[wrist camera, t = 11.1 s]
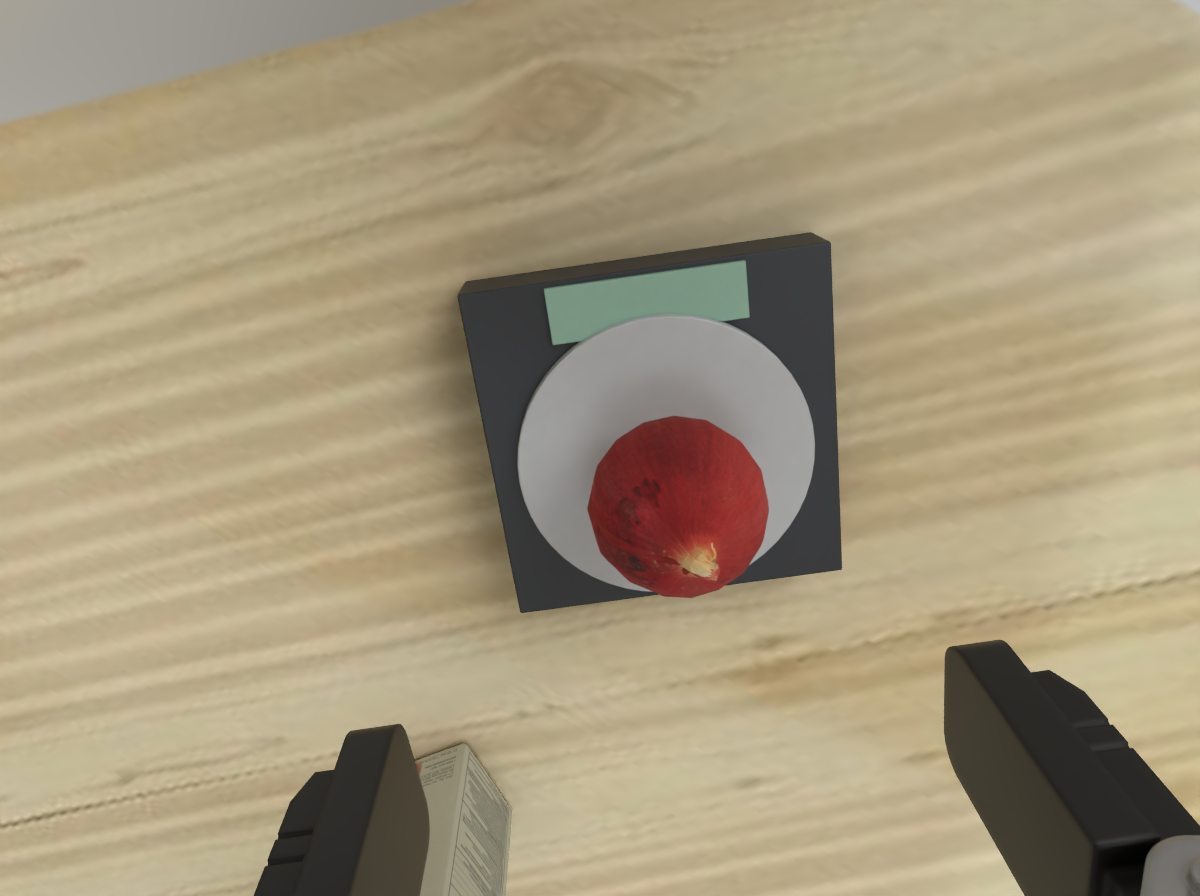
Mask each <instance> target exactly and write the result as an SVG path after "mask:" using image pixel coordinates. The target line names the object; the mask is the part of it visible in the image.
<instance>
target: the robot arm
mask: <svg viewBox="0 0 1200 896" xmlns="http://www.w3.org/2000/svg"><path fill="white" fill-rule="evenodd" d="M944 735H945V742H946V747H947V751H948V755H949V758H950V761H951V764H952V766H953V769H954V771H955V773H956V775H957V777H958V779H959V781H960V782H961V784H962V786H963V788H964V789H965V791H966V793H967V795H968V796H969V798H970V800H971V802H972V803H973V805H974V807H975V809H976V811H977V812H978V814H979V816H980V818H981V819H982V821H983V823H984V825H985V826H986V828H987V830H988V832H989V833H990V835H991V837H992V839H993V840H994V842H995V844H996V846H997V848H998V849H999V851H1000V853H1001V855H1002V856H1003V858H1004V860H1005V862H1006V863H1007V865H1008V867H1009V869H1010V870H1011V872H1012V874H1013V876H1014V877H1015V879H1016V881H1017V883H1018V885H1019V886H1020V888H1021V890H1022V892H1023V893H1024V895H1025V896H1200V826H1199V824H1198V823H1197V822H1196V821H1195V820H1194V819H1193V817H1192V816H1191V815H1190V814H1189V813H1188V812H1187V810H1186V809H1185V808H1184V807H1183V806H1182V805H1181V804H1180V802H1179V801H1178V800H1177V799H1176V798H1175V797H1174V795H1173V794H1172V793H1171V792H1170V791H1169V790H1168V788H1167V787H1166V786H1165V785H1164V784H1163V783H1162V781H1161V780H1160V779H1159V778H1158V777H1157V776H1156V774H1155V773H1154V772H1153V771H1152V770H1151V769H1150V767H1149V766H1148V765H1147V764H1146V763H1145V762H1144V760H1143V759H1142V758H1141V757H1140V756H1139V755H1138V753H1137V752H1136V751H1135V750H1134V749H1133V748H1129V746H1128V742H1127V741H1126V740H1125V738H1124V737H1123V736H1122V735H1121V734H1120V733H1119V731H1118V730H1117V729H1116V728H1115V727H1114V726H1113V725H1110V724H1109V722H1108V719H1107V717H1106V716H1105V715H1104V714H1103V713H1102V712H1101V710H1100V709H1099V708H1098V707H1097V706H1096V705H1095V703H1094V702H1093V701H1092V700H1091V699H1090V698H1089V696H1088V695H1087V694H1086V693H1085V692H1084V691H1082V690H1081V689H1079V688H1078V687H1076V686H1074V685H1073V684H1071V683H1070V682H1068V681H1066V680H1065V679H1063V678H1061V677H1060V676H1058V675H1057V674H1055V673H1053V672H1052V671H1050V670H1046V671H1039V672H1032V673H1031V672H1030V671H1029V670H1028V669H1027V667H1026V666H1025V665H1024V664H1023V662H1022V661H1021V660H1020V658H1019V657H1018V656H1017V655H1016V653H1015V652H1014V651H1013V650H1012V648H1011V647H1010V646H1009V645H1008V644H1007V643H1006V642H1005V641H1003V640H994V641H987V642H980V643H973V644H966V645H959V646H952V647H949V648H948V649H947V651H946V654H945V686H944ZM429 838H430V822H429V812H428V805H427V801H426V797H425V794H424V790H423V787H422V784H421V780H420V777H419V774H418V770H417V767H416V764H415V760H414V757H413V754H412V750H411V747H410V744H409V740H408V737H407V734H406V731H405V729H404V728H403V726H402V725H401V724H395V725H388V726H381V727H374V728H367V729H360V730H353V731H350V732H349V733H348V734H347V735H346V737H345V740H344V743H343V746H342V749H341V751H340V754H339V757H338V760H337V763H336V766H335V769H334V770H329V771H322V772H315V773H314V774H313V775H312V777H311V778H310V779H309V780H308V781H307V783H306V784H305V785H304V786H303V787H302V789H301V790H300V791H299V792H298V793H297V795H296V796H295V797H294V798H293V799H292V800H291V802H290V804H289V807H288V809H287V812H286V814H285V817H284V819H283V822H282V824H281V827H280V830H279V832H278V840H275V842H274V845H273V848H272V850H271V853H270V855H269V858H268V866H266V867H265V868H264V871H263V873H262V876H261V878H260V881H259V883H258V886H257V889H256V891H255V894H254V896H420V891H421V886H422V880H423V875H424V869H425V864H426V859H427V853H428V847H429Z"/></svg>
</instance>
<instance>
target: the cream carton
mask: <svg viewBox="0 0 1200 896" xmlns="http://www.w3.org/2000/svg"><path fill="white" fill-rule="evenodd" d="M415 764H416V767H417V770H418V774H419V777H420V780H421V784H422V787H423V790H424V794H425V797H426V801H427V805H428V812H429V822H430V838H429V847H428V853H427V859H426V864H425V869H424V875H423V880H422V886H421V891H420V896H505V895H506V882H507V869H508V857H509V844H510V830H511V817H512V812H511V809H510V808H509V806H508V805H507V803H506V802H505V800H504V799H503V797H502V795H501V794H500V792H499V790H498V789H497V788H496V786H495V785H494V783H493V782H492V780H491V779H490V777H489V776H488V774H487V773H486V771H485V770H484V768H483V767H482V765H481V764H480V762H479V761H478V760H477V758H476V757H475V756H474V754H473V753H472V751H471V750H470V749H469V747H468V746H467V745H466V744H465V743H463V744H460V745H457V746H454V747H452V748H449V749H446V750H443V751H440V752H437V753H435V754H432V755H429V756H426V757H424V758H421V759H419V760H416V761H415Z"/></svg>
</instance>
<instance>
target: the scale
mask: <svg viewBox="0 0 1200 896" xmlns="http://www.w3.org/2000/svg"><path fill="white" fill-rule="evenodd" d="M458 301H459V306H460V311H461V316H462V321H463V326H464V331H465V336H466V341H467V346H468V351H469V356H470V361H471V366H472V371H473V376H474V381H475V386H476V391H477V396H478V402H479V407H480V412H481V417H482V422H483V427H484V432H485V437H486V442H487V447H488V452H489V457H490V462H491V467H492V472H493V477H494V482H495V487H496V492H497V497H498V502H499V507H500V512H501V517H502V522H503V527H504V532H505V537H506V543H507V548H508V553H509V558H510V563H511V568H512V573H513V578H514V583H515V588H516V593H517V598H518V603H519V608H520V612H521V613H525V612H533V611H540V610H547V609H555V608H562V607H570V606H577V605H584V604H592V603H599V602H607V601H614V600H621V599H629V598H636V597H643V596H651V595H658V594H657V593H655V592H652V591H650V590H648V589H645V588H643V587H640V586H638V585H635V584H633V583H631V582H629V581H628V580H627V579H626V578H625V577H624V576H623V575H622V574H621V573H620V572H619V571H618V570H617V569H616V568H615V567H614V566H613V565H611V564H610V563H609V562H608V561H607V560H606V559H605V557H604V556H603V555H602V554H601V553H600V550H599V547H598V544H597V541H596V538H595V535H594V531H593V528H592V524H591V521H590V517H589V514H588V510H587V507H588V503H589V498H590V494H591V489H592V485H593V480H594V476H595V472H596V468H597V465H598V464H599V462H600V461H601V460H602V458H603V457H604V456H605V454H606V453H607V452H608V450H609V449H610V448H611V446H612V445H613V444H614V442H615V441H616V440H617V439H618V438H620V437H621V436H623V435H624V434H626V433H628V432H629V431H631V430H632V429H634V428H635V427H637V426H639V425H640V424H642V423H644V422H648V421H652V420H657V419H661V418H665V417H670V416H680V417H688V418H695V419H703V420H707V421H709V422H711V423H712V424H714V425H716V426H717V427H719V428H721V429H722V430H724V431H725V432H727V433H729V434H730V435H732V436H734V437H735V438H737V439H738V440H739V441H741V442H742V443H743V445H744V446H745V447H746V449H747V450H748V452H749V453H750V455H751V456H752V457H753V459H754V460H755V462H756V463H757V464H758V466H759V467H760V469H761V471H762V475H763V480H764V485H765V489H766V494H767V498H768V505H769V514H768V519H767V524H766V530H765V535H764V540H763V542H762V545H761V547H760V549H759V550H758V552H757V553H756V555H755V556H754V558H753V560H752V561H751V563H750V564H749V566H748V567H747V569H746V571H745V572H744V573H743V574H742V575H740V576H739V577H737V578H736V579H734V580H733V581H731V582H729V583H728V584H726V585H732V584H739V583H747V582H754V581H762V580H769V579H776V578H784V577H791V576H798V575H806V574H813V573H821V572H828V571H835V570H841V569H842V556H841V527H840V498H839V469H838V440H837V411H836V382H835V353H834V324H833V296H832V267H831V243H830V242H829V241H827V240H825V239H823V238H821V237H819V236H817V235H815V234H813V233H811V232H810V233H803V234H796V235H789V236H782V237H775V238H768V239H761V240H754V241H747V242H740V243H733V244H726V245H719V246H712V247H705V248H698V249H691V250H684V251H677V252H670V253H663V254H656V255H649V256H642V257H635V258H628V259H621V260H614V261H607V262H600V263H593V264H586V265H579V266H572V267H565V268H558V269H551V270H544V271H537V272H530V273H523V274H516V275H509V276H502V277H495V278H488V279H481V280H474V281H467V282H465V284H464V286H463V287H462V289H461V291H460V292H459V294H458Z"/></svg>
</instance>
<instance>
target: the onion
mask: <svg viewBox="0 0 1200 896" xmlns="http://www.w3.org/2000/svg"><path fill="white" fill-rule="evenodd" d="M587 510H588V514H589V517H590V521H591V524H592V528H593V531H594V535H595V538H596V541H597V544H598V547H599V550H600V553H601V554H602V555H603V556H604V557H605V559H606V560H607V561H608V562H609V563H610V564H611V565H613V566H614V567H615V568H616V569H617V570H618V571H619V572H620V573H621V574H622V575H623V576H624V577H625V578H626V579H627V580H628V581H629V582H631V583H633V584H635V585H638V586H640V587H643V588H645V589H648V590H650V591H652V592H655V593H657V594H660V595H662V596H667V597H685V598H692V597H696V596H699V595H703V594H706V593H709V592H713V591H716V590H719V589H720V588H722V587H723V586H725V585H726V584H728V583H729V582H731V581H733V580H734V579H736V578H737V577H739V576H740V575H742V574H743V573H744V572H745V571H746V569H747V567H748V566H749V564H750V563H751V561H752V560H753V558H754V556H755V555H756V553H757V552H758V550H759V549H760V547H761V545H762V542H763V540H764V535H765V530H766V524H767V519H768V514H769V505H768V498H767V494H766V489H765V485H764V480H763V475H762V471H761V469H760V467H759V466H758V464H757V463H756V462H755V460H754V459H753V457H752V456H751V455H750V453H749V452H748V450H747V449H746V447H745V446H744V445H743V443H742V442H741V441H739V440H738V439H737V438H735V437H734V436H732V435H730V434H729V433H727V432H725V431H724V430H722V429H721V428H719V427H717V426H716V425H714V424H712V423H711V422H709V421H707V420H703V419H695V418H688V417H680V416H670V417H665V418H661V419H657V420H652V421H648V422H644V423H642V424H640V425H639V426H637V427H635V428H634V429H632V430H631V431H629V432H628V433H626V434H624V435H623V436H621V437H620V438H618V439H617V440H616V441H615V442H614V444H613V445H612V446H611V448H610V449H609V450H608V452H607V453H606V454H605V456H604V457H603V458H602V460H601V461H600V462H599V464H598V465H597V468H596V472H595V476H594V480H593V485H592V489H591V494H590V498H589V503H588V507H587Z"/></svg>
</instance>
